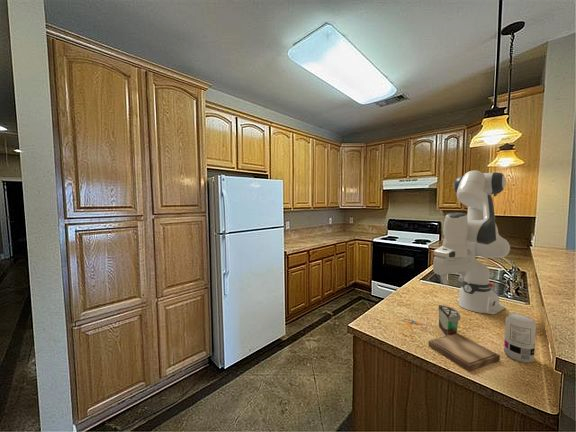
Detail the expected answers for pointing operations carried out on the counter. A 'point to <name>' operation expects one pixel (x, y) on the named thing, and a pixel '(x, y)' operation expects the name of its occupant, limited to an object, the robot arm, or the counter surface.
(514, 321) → the supplement can
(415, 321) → the key chain
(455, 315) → the food container
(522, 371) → the counter surface
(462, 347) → the base
